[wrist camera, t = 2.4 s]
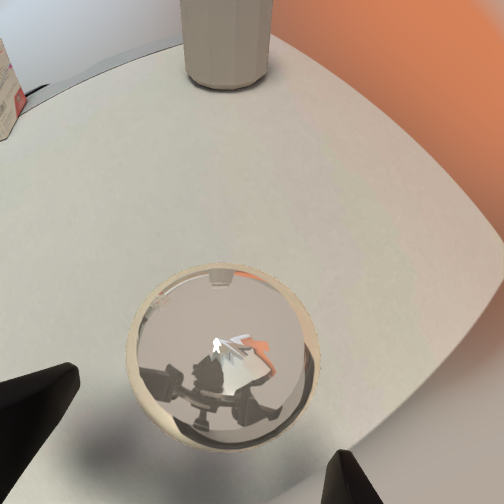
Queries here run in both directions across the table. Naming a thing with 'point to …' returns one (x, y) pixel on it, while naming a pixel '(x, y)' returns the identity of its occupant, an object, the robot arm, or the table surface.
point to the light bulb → (223, 357)
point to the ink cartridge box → (9, 95)
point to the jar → (226, 41)
